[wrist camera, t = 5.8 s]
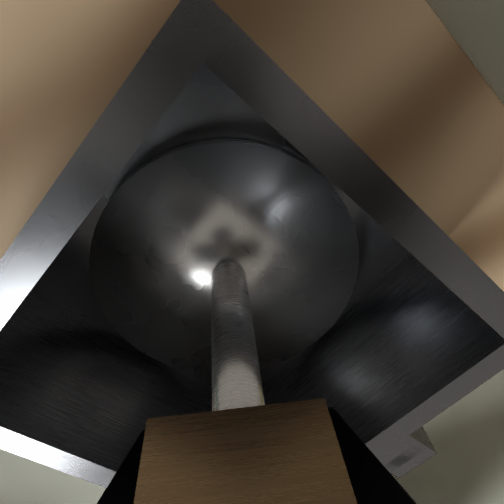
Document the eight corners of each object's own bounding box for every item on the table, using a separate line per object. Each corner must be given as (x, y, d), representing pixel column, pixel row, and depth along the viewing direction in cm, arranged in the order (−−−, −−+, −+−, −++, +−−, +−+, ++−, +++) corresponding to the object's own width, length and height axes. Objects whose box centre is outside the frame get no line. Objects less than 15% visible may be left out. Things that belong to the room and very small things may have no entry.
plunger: (404, 250, 15) (670, 555, 6) (240, 394, 18) (271, 740, 9) (207, 70, 11) (203, 208, 3) (42, 285, 14) (-209, 681, 6)
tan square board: (580, 219, 16) (593, 225, 16) (249, 476, 22) (250, 487, 22) (166, -329, 9) (164, -351, 8) (-163, 291, 15) (-176, 300, 14)
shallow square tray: (476, 272, 16) (587, 375, 12) (278, 431, 20) (300, 559, 15) (200, 0, 11) (193, -19, 6) (-2, 283, 15) (-105, 410, 10)
